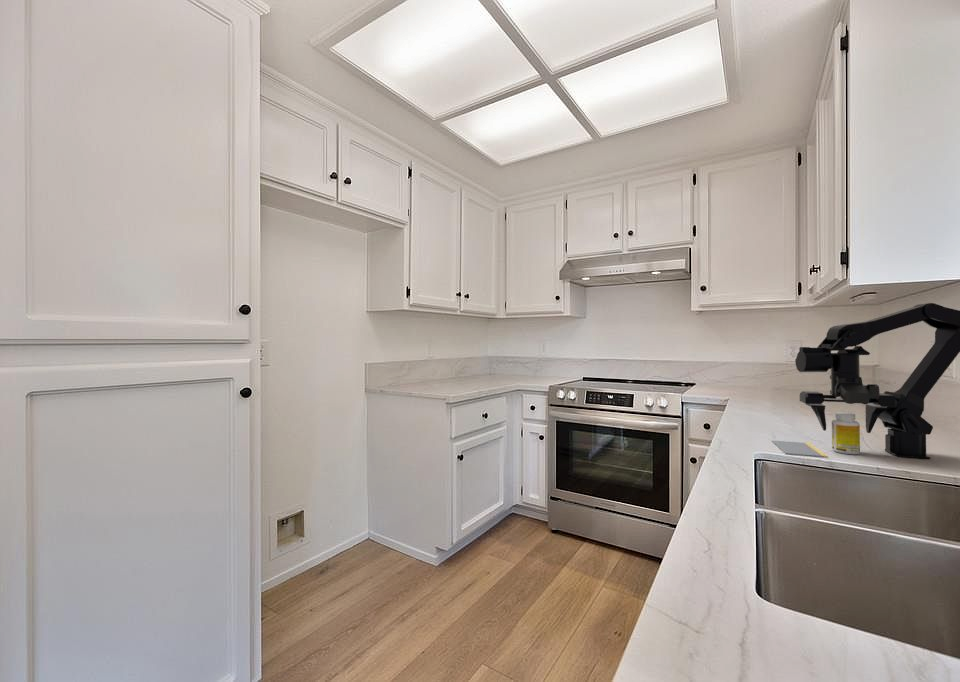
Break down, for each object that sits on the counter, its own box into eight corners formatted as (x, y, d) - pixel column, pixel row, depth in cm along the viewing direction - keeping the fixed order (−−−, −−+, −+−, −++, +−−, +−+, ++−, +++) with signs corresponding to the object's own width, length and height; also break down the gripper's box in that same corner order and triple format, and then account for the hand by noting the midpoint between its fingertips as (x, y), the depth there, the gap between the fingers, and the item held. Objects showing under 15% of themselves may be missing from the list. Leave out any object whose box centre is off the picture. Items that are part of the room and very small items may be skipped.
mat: (808, 444, 120) (808, 442, 120) (827, 457, 106) (827, 455, 106) (771, 441, 123) (771, 440, 123) (785, 454, 109) (785, 452, 109)
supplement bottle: (865, 455, 108) (865, 415, 108) (841, 454, 108) (841, 415, 108) (849, 449, 113) (849, 411, 113) (826, 449, 114) (826, 411, 114)
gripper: (811, 374, 107) (812, 435, 107) (908, 375, 100) (909, 441, 100) (798, 371, 117) (799, 427, 117) (885, 372, 110) (886, 431, 110)
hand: (846, 431), depth 111 cm, fingers open, 9 cm apart
